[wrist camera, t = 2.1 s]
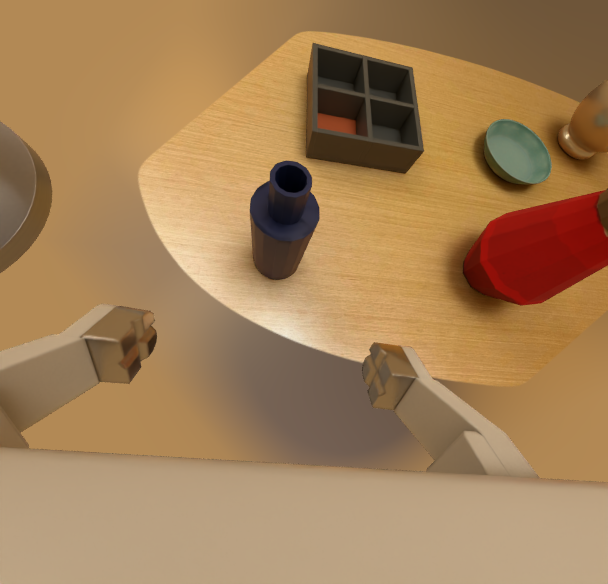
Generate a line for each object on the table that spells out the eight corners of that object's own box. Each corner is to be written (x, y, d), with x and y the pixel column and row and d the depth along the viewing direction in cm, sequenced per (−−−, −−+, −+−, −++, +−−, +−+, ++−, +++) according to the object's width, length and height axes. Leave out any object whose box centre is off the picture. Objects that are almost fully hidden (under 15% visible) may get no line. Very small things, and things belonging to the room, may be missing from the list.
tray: (306, 157, 38) (312, 130, 33) (307, 75, 42) (312, 42, 38) (405, 173, 41) (424, 151, 36) (397, 95, 45) (412, 67, 41)
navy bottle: (252, 278, 32) (244, 210, 16) (255, 235, 33) (251, 137, 18) (298, 281, 33) (332, 220, 17) (299, 239, 34) (331, 150, 19)
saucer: (544, 196, 46) (561, 187, 44) (482, 187, 44) (495, 177, 41) (527, 136, 50) (541, 125, 47) (468, 125, 47) (480, 112, 45)
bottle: (489, 331, 36) (743, 310, 17) (430, 266, 37) (609, 178, 18) (534, 272, 41) (774, 204, 22) (481, 216, 42) (666, 104, 23)
